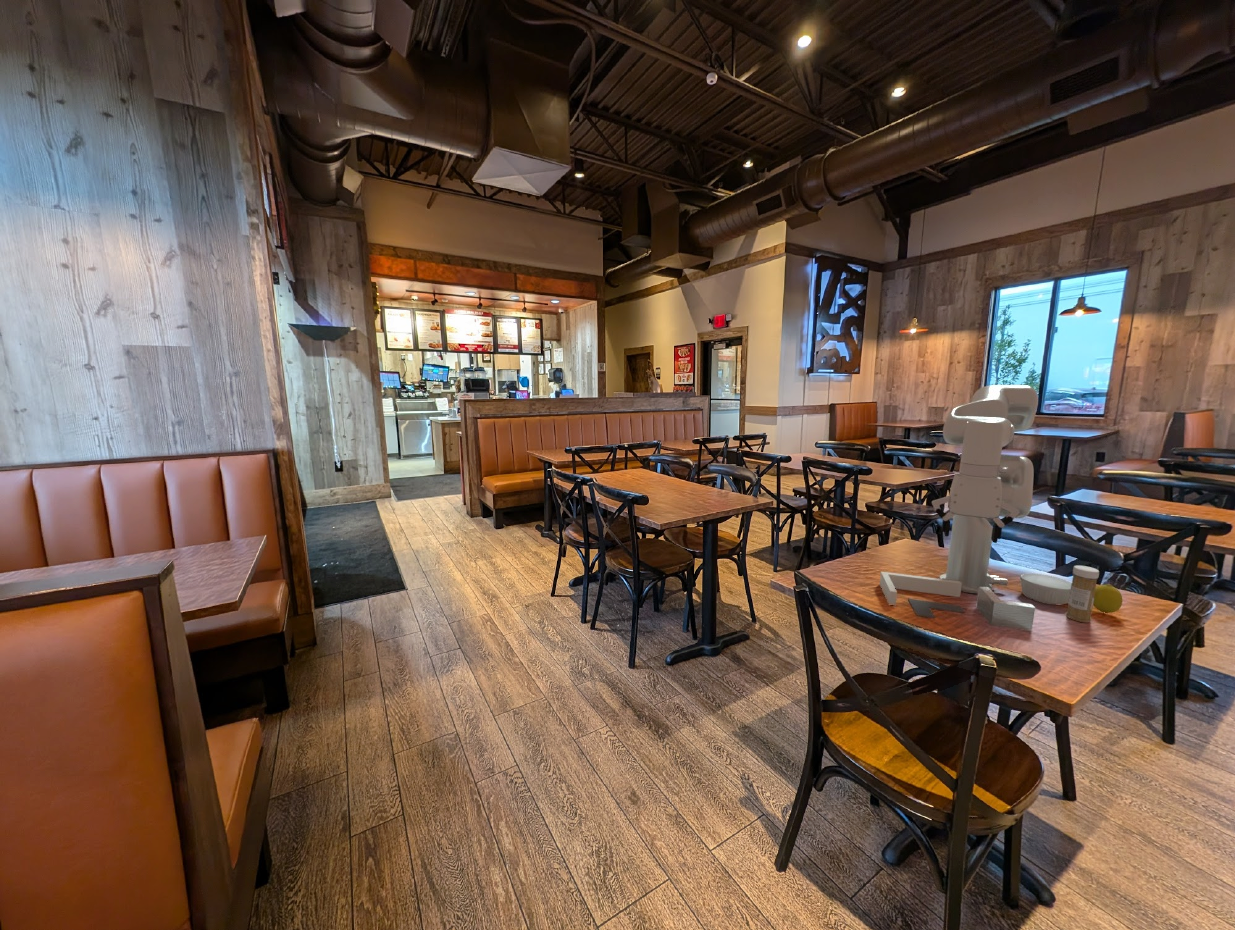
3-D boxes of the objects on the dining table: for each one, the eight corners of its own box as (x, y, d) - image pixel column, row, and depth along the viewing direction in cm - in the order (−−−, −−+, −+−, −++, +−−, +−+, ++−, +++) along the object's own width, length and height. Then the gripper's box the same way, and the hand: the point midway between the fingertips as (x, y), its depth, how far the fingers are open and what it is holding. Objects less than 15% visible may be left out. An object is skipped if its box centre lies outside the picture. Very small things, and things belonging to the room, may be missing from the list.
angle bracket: (976, 607, 125) (979, 586, 124) (1013, 612, 122) (1016, 591, 121) (991, 625, 115) (994, 602, 114) (1031, 631, 113) (1035, 607, 112)
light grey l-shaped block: (958, 594, 132) (959, 581, 132) (976, 618, 119) (979, 603, 118) (879, 584, 139) (880, 571, 138) (888, 605, 125) (890, 591, 125)
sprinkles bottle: (1095, 622, 117) (1104, 570, 115) (1081, 624, 116) (1090, 572, 114) (1073, 613, 122) (1082, 564, 119) (1060, 615, 121) (1068, 565, 118)
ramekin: (1011, 587, 138) (1014, 570, 137) (1060, 593, 134) (1063, 576, 133) (1027, 603, 128) (1030, 584, 127) (1080, 610, 123) (1083, 591, 123)
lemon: (1114, 620, 118) (1120, 590, 117) (1085, 611, 123) (1090, 582, 122) (1123, 615, 121) (1128, 586, 119) (1094, 607, 125) (1099, 578, 124)
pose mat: (959, 606, 125) (959, 605, 125) (973, 624, 116) (973, 622, 116) (907, 599, 129) (907, 598, 129) (916, 615, 120) (916, 614, 120)
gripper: (1021, 471, 113) (1010, 539, 116) (934, 465, 122) (927, 528, 125) (1028, 476, 107) (1017, 548, 110) (936, 470, 115) (929, 536, 118)
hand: (969, 538), depth 117 cm, fingers open, 9 cm apart
